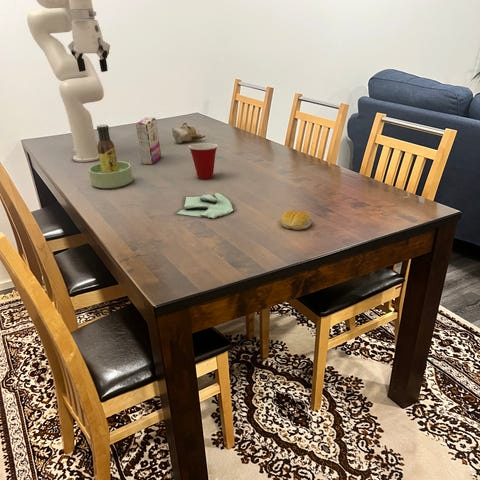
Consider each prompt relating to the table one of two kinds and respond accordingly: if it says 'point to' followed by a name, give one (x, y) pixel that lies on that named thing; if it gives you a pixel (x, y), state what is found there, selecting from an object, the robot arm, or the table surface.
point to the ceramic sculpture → (186, 133)
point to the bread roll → (296, 220)
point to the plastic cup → (204, 159)
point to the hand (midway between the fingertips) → (93, 71)
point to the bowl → (111, 176)
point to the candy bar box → (148, 140)
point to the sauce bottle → (106, 151)
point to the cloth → (207, 206)
